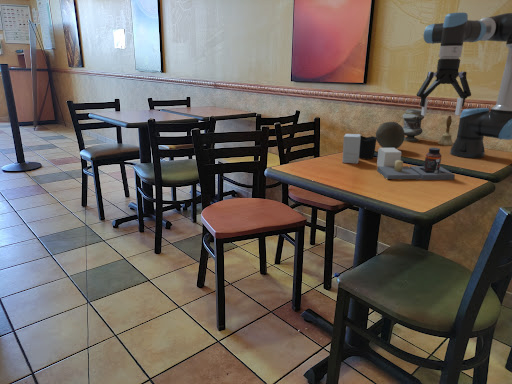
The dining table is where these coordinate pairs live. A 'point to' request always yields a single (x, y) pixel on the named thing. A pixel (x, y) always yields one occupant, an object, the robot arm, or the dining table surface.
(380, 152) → the block
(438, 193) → the dining table surface
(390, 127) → the dark grey ball
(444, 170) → the socket board
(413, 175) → the board
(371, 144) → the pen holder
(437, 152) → the supplement bottle
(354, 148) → the supplement box
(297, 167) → the dining table surface
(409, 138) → the grey stone urn
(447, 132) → the hand bell
